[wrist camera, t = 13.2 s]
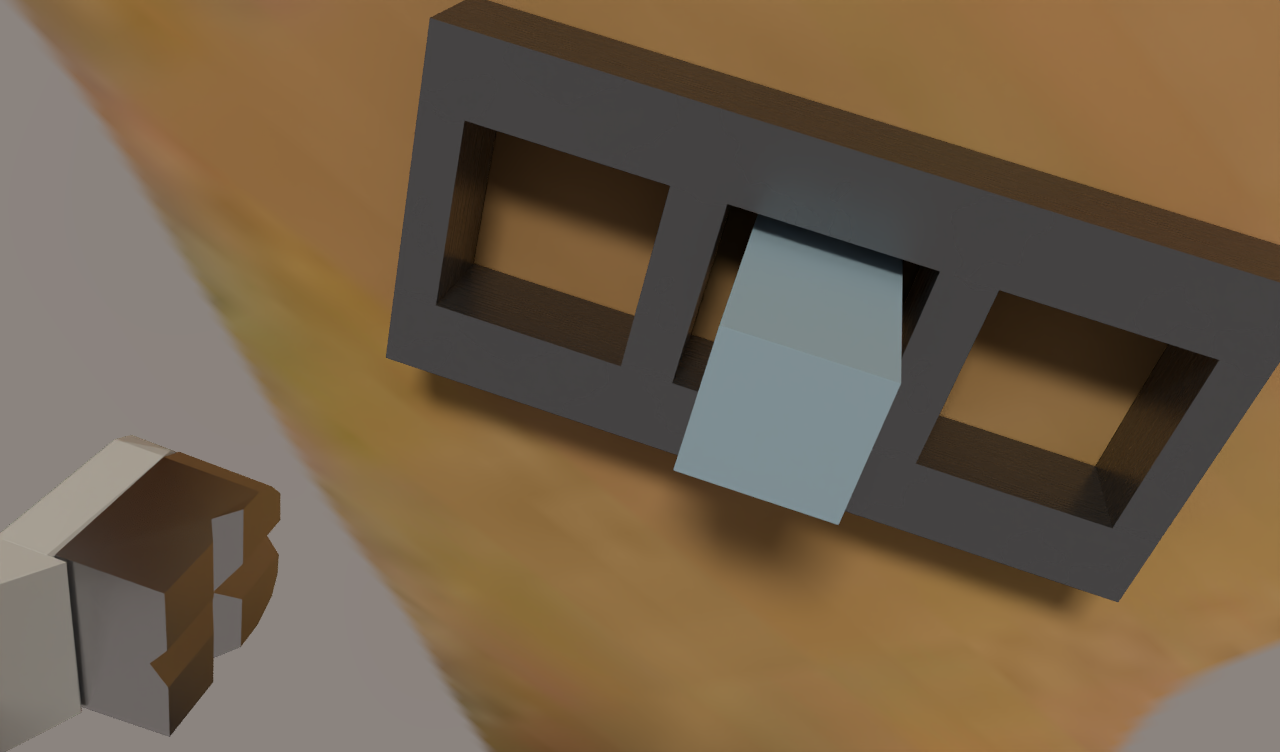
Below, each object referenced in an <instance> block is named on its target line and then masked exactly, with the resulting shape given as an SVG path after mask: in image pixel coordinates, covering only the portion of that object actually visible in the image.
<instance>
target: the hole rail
mask: <svg viewBox="0 0 1280 752" xmlns="http://www.w3.org/2000/svg"><path fill="white" fill-rule="evenodd" d="M496 131H499V132H502V133H505V134H509V135H512V136H515V137H518V138H521V139H524V140H527V141H531V142H534V143H537V144H540V145H543V146H546V147H549V148H553V149H556V150H559V151H562V152H565V153H568V154H572V155H575V156H578V157H581V158H584V159H587V160H590V161H594V162H597V163H600V164H603V165H606V166H609V167H613V168H616V169H619V170H622V171H625V172H628V173H631V174H635V175H638V176H641V177H644V178H647V179H650V180H653V181H657V182H660V183H663V184H666V185H669V186H670V189H669V192H668V196H667V200H666V203H665V207H664V211H663V214H662V218H661V222H660V225H659V229H658V232H657V236H656V240H655V243H654V247H653V251H652V254H651V258H650V262H649V265H648V269H647V273H646V276H645V280H644V284H643V287H642V291H641V295H640V298H639V302H638V306H637V309H636V313H635V316H633V315H630V314H627V313H624V312H620V311H617V310H614V309H611V308H608V307H605V306H602V305H599V304H596V303H593V302H590V301H587V300H584V299H581V298H578V297H574V296H571V295H568V294H565V293H562V292H559V291H556V290H553V289H550V288H547V287H544V286H541V285H538V284H535V283H532V282H529V281H525V280H522V279H519V278H516V277H513V276H510V275H507V274H504V273H501V272H498V271H495V270H492V269H489V268H486V267H483V266H479V265H476V264H473V262H474V256H475V250H476V245H477V239H478V233H479V227H480V222H481V216H482V210H483V204H484V198H485V193H486V187H487V181H488V175H489V170H490V164H491V158H492V152H493V146H494V141H495V135H496ZM731 205H732V206H735V207H739V208H742V209H745V210H748V211H751V212H754V213H758V214H761V215H764V216H767V217H770V218H773V219H776V220H780V221H783V222H786V223H789V224H792V225H795V226H798V227H802V228H805V229H808V230H811V231H814V232H817V233H821V234H824V235H827V236H830V237H833V238H836V239H839V240H843V241H846V242H849V243H852V244H855V245H858V246H862V247H865V248H868V249H871V250H874V251H877V252H880V253H884V254H887V255H890V256H893V257H896V258H899V259H903V260H906V261H909V262H912V263H915V264H918V265H921V266H920V268H919V271H918V273H917V275H916V278H915V280H914V282H913V285H912V287H911V289H910V292H909V294H908V296H907V299H906V301H905V303H904V306H903V308H902V353H901V385H900V387H899V389H898V391H897V394H896V396H895V398H894V401H893V403H892V405H891V407H890V410H889V412H888V414H887V416H886V419H885V421H884V423H883V425H882V428H881V430H880V432H879V434H878V437H877V439H876V441H875V444H874V446H873V448H872V450H871V453H870V455H869V457H868V459H867V462H866V464H865V466H864V468H863V471H862V473H861V475H860V477H859V480H858V482H857V484H856V487H855V489H854V491H853V493H852V496H851V498H850V500H849V502H848V505H847V507H846V509H845V511H846V512H849V513H852V514H855V515H858V516H861V517H864V518H867V519H870V520H873V521H876V522H879V523H882V524H885V525H888V526H891V527H894V528H897V529H900V530H903V531H906V532H909V533H912V534H915V535H918V536H921V537H924V538H927V539H930V540H933V541H936V542H939V543H942V544H945V545H948V546H951V547H954V548H957V549H960V550H963V551H966V552H969V553H972V554H975V555H978V556H981V557H984V558H987V559H990V560H993V561H996V562H999V563H1002V564H1005V565H1008V566H1011V567H1014V568H1017V569H1020V570H1023V571H1026V572H1029V573H1032V574H1035V575H1038V576H1041V577H1044V578H1047V579H1050V580H1053V581H1056V582H1059V583H1062V584H1065V585H1068V586H1071V587H1074V588H1077V589H1080V590H1083V591H1086V592H1089V593H1092V594H1095V595H1098V596H1101V597H1104V598H1107V599H1110V600H1113V601H1116V602H1119V600H1120V599H1121V597H1122V596H1123V594H1124V593H1125V591H1126V590H1127V588H1128V587H1129V585H1130V584H1131V583H1132V581H1133V580H1134V578H1135V577H1136V575H1137V574H1138V572H1139V571H1140V569H1141V568H1142V566H1143V565H1144V563H1145V562H1146V560H1147V559H1148V557H1149V556H1150V554H1151V553H1152V551H1153V550H1154V548H1155V547H1156V545H1157V544H1158V542H1159V541H1160V539H1161V538H1162V536H1163V535H1164V533H1165V532H1166V530H1167V529H1168V527H1169V526H1170V525H1171V523H1172V522H1173V520H1174V519H1175V517H1176V516H1177V514H1178V513H1179V511H1180V510H1181V508H1182V507H1183V505H1184V504H1185V502H1186V501H1187V499H1188V498H1189V496H1190V495H1191V493H1192V492H1193V490H1194V489H1195V487H1196V486H1197V484H1198V483H1199V481H1200V480H1201V478H1202V477H1203V475H1204V474H1205V472H1206V471H1207V470H1208V468H1209V467H1210V465H1211V464H1212V462H1213V461H1214V459H1215V458H1216V456H1217V455H1218V453H1219V452H1220V450H1221V449H1222V447H1223V446H1224V444H1225V443H1226V441H1227V440H1228V438H1229V437H1230V435H1231V434H1232V432H1233V431H1234V429H1235V428H1236V426H1237V425H1238V423H1239V422H1240V420H1241V419H1242V417H1243V416H1244V415H1245V413H1246V412H1247V410H1248V409H1249V407H1250V406H1251V404H1252V403H1253V401H1254V400H1255V398H1256V397H1257V395H1258V394H1259V392H1260V391H1261V389H1262V388H1263V386H1264V385H1265V383H1266V382H1267V380H1268V379H1269V377H1270V376H1271V374H1272V373H1273V371H1274V370H1275V368H1276V367H1277V365H1278V364H1279V362H1280V245H1277V244H1274V243H1271V242H1267V241H1264V240H1261V239H1258V238H1254V237H1251V236H1248V235H1245V234H1241V233H1238V232H1235V231H1232V230H1229V229H1225V228H1222V227H1219V226H1216V225H1212V224H1209V223H1206V222H1203V221H1199V220H1196V219H1193V218H1190V217H1186V216H1183V215H1180V214H1177V213H1174V212H1170V211H1167V210H1164V209H1161V208H1157V207H1154V206H1151V205H1148V204H1144V203H1141V202H1138V201H1135V200H1131V199H1128V198H1125V197H1122V196H1119V195H1115V194H1112V193H1109V192H1106V191H1102V190H1099V189H1096V188H1093V187H1089V186H1086V185H1083V184H1080V183H1076V182H1073V181H1070V180H1067V179H1064V178H1060V177H1057V176H1054V175H1051V174H1047V173H1044V172H1041V171H1038V170H1034V169H1031V168H1028V167H1025V166H1021V165H1018V164H1015V163H1012V162H1009V161H1005V160H1002V159H999V158H996V157H992V156H989V155H986V154H983V153H979V152H976V151H973V150H970V149H966V148H963V147H960V146H957V145H954V144H950V143H947V142H944V141H941V140H937V139H934V138H931V137H928V136H924V135H921V134H918V133H915V132H911V131H908V130H905V129H902V128H899V127H895V126H892V125H889V124H886V123H882V122H879V121H876V120H873V119H869V118H866V117H863V116H860V115H856V114H853V113H850V112H847V111H844V110H840V109H837V108H834V107H831V106H827V105H824V104H821V103H818V102H814V101H811V100H808V99H805V98H801V97H798V96H795V95H792V94H788V93H785V92H782V91H779V90H776V89H772V88H769V87H766V86H763V85H759V84H756V83H753V82H750V81H746V80H743V79H740V78H737V77H733V76H730V75H727V74H724V73H721V72H717V71H714V70H711V69H708V68H704V67H701V66H698V65H695V64H691V63H688V62H685V61H682V60H678V59H675V58H672V57H669V56H666V55H662V54H659V53H656V52H653V51H649V50H646V49H643V48H640V47H636V46H633V45H630V44H627V43H623V42H620V41H617V40H614V39H611V38H607V37H604V36H601V35H598V34H594V33H591V32H588V31H585V30H581V29H578V28H575V27H572V26H568V25H565V24H562V23H559V22H556V21H552V20H549V19H546V18H543V17H539V16H536V15H533V14H530V13H526V12H523V11H520V10H517V9H513V8H510V7H507V6H504V5H501V4H497V3H494V2H491V1H488V0H464V1H462V2H460V3H458V4H456V5H455V6H453V7H451V8H449V9H447V10H445V11H443V12H441V13H439V14H437V15H435V16H433V17H431V18H430V22H429V29H428V37H427V45H426V52H425V60H424V68H423V75H422V83H421V91H420V98H419V106H418V114H417V122H416V129H415V137H414V145H413V152H412V160H411V168H410V175H409V183H408V191H407V199H406V206H405V214H404V222H403V229H402V237H401V245H400V252H399V260H398V268H397V275H396V283H395V291H394V299H393V306H392V314H391V322H390V329H389V337H388V345H387V352H386V358H388V359H391V360H394V361H397V362H400V363H403V364H406V365H409V366H412V367H415V368H418V369H421V370H424V371H427V372H430V373H433V374H436V375H439V376H442V377H445V378H448V379H451V380H454V381H457V382H460V383H463V384H466V385H469V386H472V387H475V388H478V389H481V390H484V391H487V392H490V393H493V394H496V395H499V396H502V397H505V398H508V399H511V400H514V401H517V402H520V403H523V404H526V405H529V406H532V407H535V408H538V409H541V410H544V411H547V412H550V413H553V414H556V415H559V416H562V417H565V418H568V419H571V420H574V421H577V422H580V423H583V424H586V425H589V426H592V427H595V428H598V429H601V430H604V431H607V432H610V433H613V434H616V435H619V436H622V437H625V438H628V439H631V440H634V441H637V442H640V443H643V444H646V445H649V446H652V447H655V448H658V449H661V450H664V451H667V452H670V453H673V454H676V455H678V454H679V451H680V447H681V444H682V441H683V438H684V435H685V432H686V429H687V426H688V422H689V419H690V416H691V413H692V410H693V407H694V404H695V400H696V397H697V394H698V391H699V388H700V385H701V382H702V379H703V375H704V372H705V369H706V366H707V363H708V360H709V357H710V353H711V350H712V347H713V344H714V342H712V341H709V340H706V339H703V338H700V337H697V336H694V335H691V333H692V330H693V327H694V323H695V320H696V317H697V314H698V311H699V307H700V304H701V301H702V298H703V294H704V291H705V288H706V285H707V282H708V278H709V275H710V272H711V269H712V265H713V262H714V259H715V256H716V253H717V249H718V246H719V243H720V240H721V236H722V233H723V230H724V227H725V224H726V220H727V217H728V214H729V211H730V207H731ZM999 290H1000V291H1003V292H1007V293H1010V294H1013V295H1016V296H1019V297H1022V298H1025V299H1029V300H1032V301H1035V302H1038V303H1041V304H1044V305H1048V306H1051V307H1054V308H1057V309H1060V310H1063V311H1066V312H1070V313H1073V314H1076V315H1079V316H1082V317H1085V318H1088V319H1092V320H1095V321H1098V322H1101V323H1104V324H1107V325H1111V326H1114V327H1117V328H1120V329H1123V330H1126V331H1129V332H1133V333H1136V334H1139V335H1142V336H1145V337H1148V338H1152V339H1155V340H1158V341H1161V342H1164V343H1167V344H1169V345H1168V346H1167V348H1166V350H1165V351H1164V353H1163V355H1162V356H1161V358H1160V360H1159V361H1158V363H1157V365H1156V366H1155V368H1154V370H1153V371H1152V373H1151V375H1150V376H1149V378H1148V380H1147V381H1146V383H1145V385H1144V386H1143V388H1142V390H1141V391H1140V393H1139V395H1138V397H1137V398H1136V400H1135V402H1134V403H1133V405H1132V407H1131V408H1130V410H1129V412H1128V413H1127V415H1126V417H1125V418H1124V420H1123V422H1122V423H1121V425H1120V427H1119V428H1118V430H1117V432H1116V433H1115V435H1114V437H1113V438H1112V440H1111V442H1110V443H1109V445H1108V447H1107V448H1106V450H1105V452H1104V453H1103V455H1102V457H1101V458H1100V460H1099V462H1098V463H1097V465H1096V466H1092V465H1089V464H1086V463H1083V462H1080V461H1077V460H1074V459H1071V458H1068V457H1065V456H1062V455H1059V454H1056V453H1053V452H1050V451H1046V450H1043V449H1040V448H1037V447H1034V446H1031V445H1028V444H1025V443H1022V442H1019V441H1016V440H1013V439H1010V438H1007V437H1004V436H1001V435H997V434H994V433H991V432H988V431H985V430H982V429H979V428H976V427H973V426H970V425H967V424H964V423H961V422H958V421H955V420H951V419H948V418H945V417H942V416H939V414H940V412H941V410H942V408H943V406H944V404H945V402H946V400H947V397H948V395H949V393H950V391H951V389H952V387H953V385H954V383H955V381H956V379H957V377H958V375H959V373H960V370H961V368H962V366H963V364H964V362H965V360H966V358H967V356H968V354H969V352H970V350H971V348H972V346H973V343H974V341H975V339H976V337H977V335H978V333H979V331H980V329H981V327H982V325H983V323H984V321H985V319H986V316H987V314H988V312H989V310H990V308H991V306H992V304H993V302H994V300H995V298H996V296H997V294H998V292H999Z"/></svg>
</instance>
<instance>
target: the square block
mask: <svg viewBox="0 0 1280 752" xmlns="http://www.w3.org/2000/svg"><path fill="white" fill-rule="evenodd" d="M902 277H903V259H899V258H896V257H893V256H890V255H887V254H884V253H880V252H877V251H874V250H871V249H868V248H865V247H862V246H858V245H855V244H852V243H849V242H846V241H843V240H839V239H836V238H833V237H830V236H827V235H824V234H821V233H817V232H814V231H811V230H808V229H805V228H802V227H798V226H795V225H792V224H789V223H786V222H783V221H780V220H776V219H773V218H770V217H767V216H764V215H761V214H758V215H757V218H756V221H755V224H754V227H753V230H752V233H751V236H750V238H749V241H748V244H747V247H746V250H745V253H744V256H743V259H742V262H741V264H740V267H739V270H738V273H737V276H736V279H735V282H734V285H733V288H732V291H731V293H730V296H729V299H728V302H727V305H726V308H725V311H724V314H723V317H722V319H721V322H720V325H719V328H718V332H717V335H716V338H715V341H714V344H713V347H712V350H711V353H710V357H709V360H708V363H707V366H706V369H705V372H704V375H703V379H702V382H701V385H700V388H699V391H698V394H697V397H696V400H695V404H694V407H693V410H692V413H691V416H690V419H689V422H688V426H687V429H686V432H685V435H684V438H683V441H682V444H681V447H680V451H679V454H678V457H677V460H676V463H675V466H674V469H673V470H674V471H677V472H680V473H683V474H686V475H689V476H692V477H695V478H698V479H701V480H704V481H707V482H710V483H713V484H716V485H719V486H722V487H725V488H728V489H731V490H734V491H737V492H740V493H743V494H746V495H749V496H752V497H755V498H758V499H761V500H764V501H767V502H770V503H773V504H776V505H779V506H782V507H785V508H788V509H791V510H794V511H797V512H801V513H804V514H807V515H810V516H813V517H816V518H819V519H822V520H825V521H828V522H831V523H834V524H837V525H839V523H840V520H841V518H842V516H843V514H844V511H845V509H846V507H847V505H848V502H849V500H850V498H851V496H852V493H853V491H854V489H855V487H856V484H857V482H858V480H859V477H860V475H861V473H862V471H863V468H864V466H865V464H866V462H867V459H868V457H869V455H870V453H871V450H872V448H873V446H874V444H875V441H876V439H877V437H878V434H879V432H880V430H881V428H882V425H883V423H884V421H885V419H886V416H887V414H888V412H889V410H890V407H891V405H892V403H893V401H894V398H895V396H896V394H897V391H898V389H899V387H900V385H901V353H902Z"/></svg>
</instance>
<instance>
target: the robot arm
mask: <svg viewBox="0 0 1280 752" xmlns="http://www.w3.org/2000/svg"><path fill="white" fill-rule="evenodd" d="M279 521H280V493H279V492H278V491H277V490H275V489H274V488H273V487H272V486H269V485H266V484H264V483H261V482H258V481H256V480H253V479H250V478H248V477H245V476H242V475H239V474H237V473H234V472H231V471H229V470H226V469H223V468H221V467H218V466H216V465H213V464H210V463H207V462H205V461H202V460H200V459H197V458H194V457H192V456H189V455H186V454H184V453H181V452H175V451H172V450H170V449H167V448H164V447H162V446H159V445H156V444H154V443H151V442H148V441H146V440H143V439H140V438H138V437H135V436H133V435H130V436H126V437H122V438H119V439H115V440H114V441H112V442H111V443H109V444H108V445H107V446H106V447H104V448H103V449H102V450H101V451H99V452H98V453H97V454H96V455H95V456H93V457H92V458H91V459H90V460H89V461H87V462H86V463H85V464H84V465H83V466H81V467H80V468H79V469H78V470H76V471H75V472H74V473H73V474H71V475H70V476H69V477H68V478H66V479H65V480H64V481H63V482H62V483H60V484H59V485H58V486H57V487H55V488H54V489H53V490H52V491H51V492H50V493H48V494H47V495H46V496H44V497H43V498H42V499H41V500H39V501H38V502H37V503H36V504H35V505H33V506H32V507H31V508H30V509H28V510H27V511H26V512H25V513H24V514H23V515H21V516H20V517H19V518H17V519H16V520H15V521H14V522H13V523H11V524H10V525H9V526H8V527H6V528H5V529H4V530H3V531H2V532H0V752H6V751H8V750H10V749H12V748H14V747H16V746H18V745H20V744H21V743H24V742H26V741H27V740H29V739H31V738H33V737H35V736H37V735H39V734H41V733H43V732H45V731H47V730H49V729H51V728H53V727H55V726H57V725H59V724H61V723H62V722H64V721H66V720H68V719H70V718H72V717H74V716H76V715H78V714H80V713H81V711H82V708H81V707H83V708H87V709H90V710H92V711H95V712H98V713H101V714H104V715H107V716H110V717H113V718H116V719H119V720H122V721H125V722H128V723H131V724H134V725H137V726H139V727H142V728H145V729H148V730H151V731H155V732H157V733H160V734H163V735H166V736H169V737H170V735H171V734H172V733H173V732H174V731H175V729H176V728H177V727H178V726H179V724H180V723H181V722H182V720H183V719H184V718H185V717H186V716H187V714H188V713H189V712H190V710H191V709H192V708H193V707H194V705H195V704H196V703H197V702H198V700H199V699H200V698H201V697H202V695H203V694H204V693H205V692H206V690H207V689H208V688H209V687H210V685H211V684H212V683H213V658H214V657H217V656H219V655H222V654H225V653H227V652H229V651H232V650H234V649H237V648H239V647H241V646H242V644H243V643H244V642H245V641H246V639H247V638H248V637H249V635H250V634H251V633H252V631H253V630H254V629H255V627H256V626H257V624H258V623H259V621H260V619H261V617H262V615H263V613H264V611H265V609H266V606H267V605H268V603H269V600H270V598H271V596H272V593H273V589H274V585H275V581H276V577H277V573H278V557H279V555H278V553H277V551H276V549H275V548H274V546H273V545H272V543H271V541H270V540H269V538H268V537H267V535H268V534H269V532H270V531H271V530H272V529H273V528H274V527H275V525H276V524H277V523H278V522H279Z"/></svg>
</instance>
